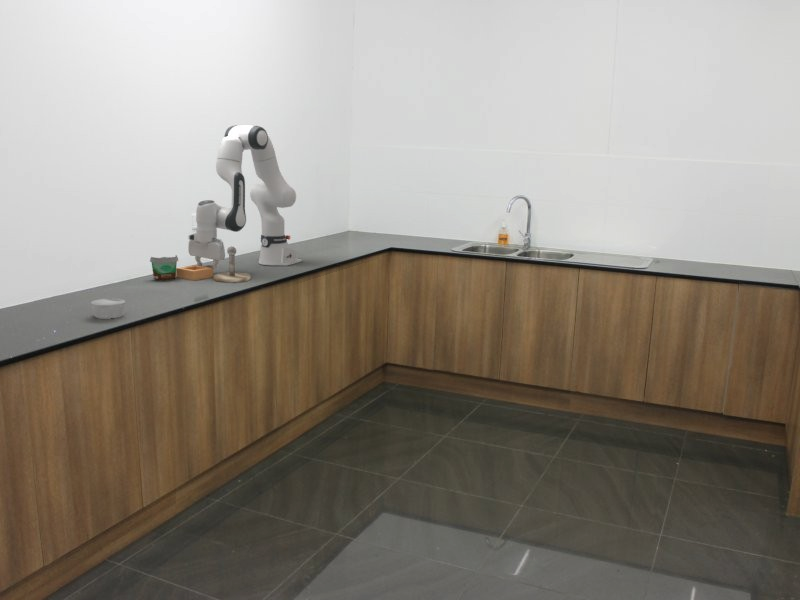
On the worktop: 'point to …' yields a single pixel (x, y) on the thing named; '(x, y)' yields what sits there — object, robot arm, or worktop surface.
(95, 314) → the ramekin
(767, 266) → the worktop surface
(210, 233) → the robot arm
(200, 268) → the orange square frame
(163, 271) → the food container
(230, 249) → the round peg stand
